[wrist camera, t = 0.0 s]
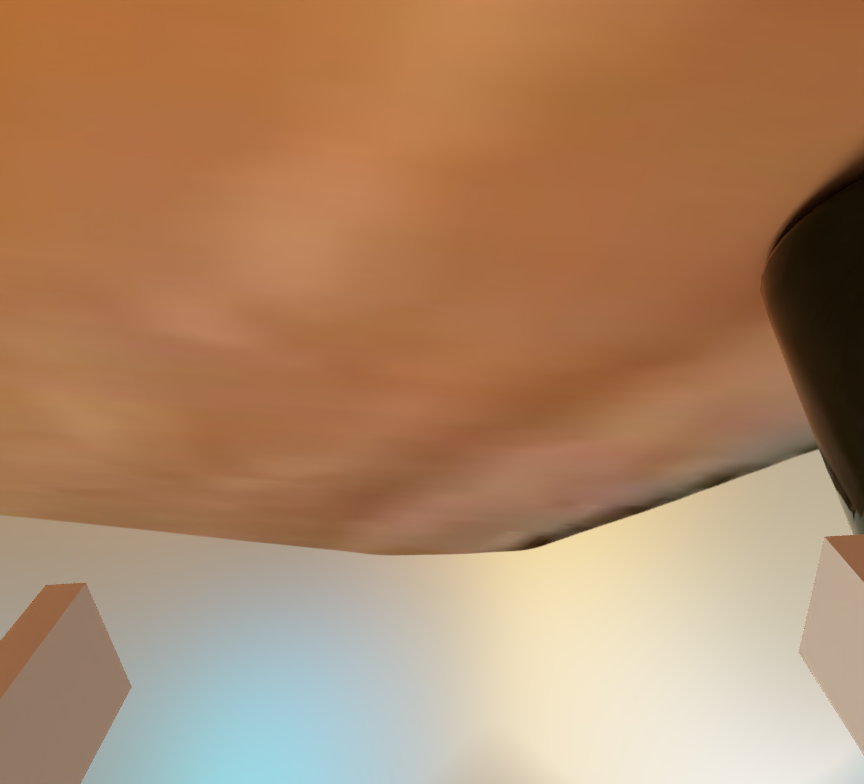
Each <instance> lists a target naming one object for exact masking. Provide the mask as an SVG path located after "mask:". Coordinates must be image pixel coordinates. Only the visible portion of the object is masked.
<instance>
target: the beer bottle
mask: <svg viewBox="0 0 864 784" xmlns="http://www.w3.org/2000/svg"><path fill="white" fill-rule="evenodd" d="M760 291H761V294H762V297H763V301H764V304H765V307H766V311H767V314H768V317H769V320H770V323H771V327H772V329H773V332H774V334H775V337H776V340H777V342H778V345H779V348H780V350H781V353H782V356H783V358H784V361H785V363H786V366H787V369H788V371H789V374H790V377H791V379H792V382H793V385H794V387H795V390H796V392H797V395H798V397H799V400H800V403H801V405H802V408H803V410H804V413H805V415H806V418H807V420H808V423H809V425H810V428H811V430H812V433H813V436H814V438H815V441H816V443H817V446H818V448H819V451H820V453H821V456H822V458H823V461H824V463H825V466H826V468H827V471H828V474H829V476H830V479H831V481H832V484H833V486H834V488H835V491H836V494H837V496H838V499H839V501H840V504H841V506H842V509H843V511H844V514H845V516H846V519H847V521H848V524H849V526H850V529H851V531H852V534H853V535H863V534H864V179H862V180H860V181H858V182H856V183H854V184H852V185H850V186H848V187H847V188H845V189H843V190H842V191H840V192H839V193H837V194H835V195H834V196H832V197H831V198H829V199H827V200H826V201H824V202H823V203H821V204H820V205H819V206H817V207H816V208H815V209H814V210H812V211H811V212H810V213H808V214H807V215H806V216H805V217H803V218H802V219H801V220H800V221H799V222H798V223H797V224H796V225H795V226H794V227H793V228H792V229H791V230H790V231H789V232H788V233H787V234H786V235H785V236H784V237H783V238H782V239H781V240H780V242H779V243H778V244H777V246H776V247H775V249H774V250H773V251H772V253H771V254H770V256H769V258H768V261H767V263H766V265H765V268H764V270H763V274H762V279H761V288H760Z"/></svg>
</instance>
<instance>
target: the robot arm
mask: <svg viewBox="0 0 864 784" xmlns="http://www.w3.org/2000/svg"><path fill="white" fill-rule="evenodd" d="M799 654H800V655H801V657H802V658H803V660H804V661H805V663H806V665H807V666H808V668H809V669H810V671H811V672H812V674H813V676H814V677H815V679H816V680H817V682H818V684H819V685H820V687H821V688H822V690H823V691H824V693H825V694H826V696H827V698H828V699H829V701H830V702H831V704H832V706H833V707H834V709H835V710H836V712H837V713H838V715H839V717H840V718H841V720H842V721H843V723H844V724H845V726H846V728H847V729H848V730H849V732H850V734H851V735H852V737H853V739H854V740H855V742H856V743H857V745H858V746H859V748H860V750H861V751H862V753H863V754H864V534H863V535H848V536H830V537H824V542H823V547H822V550H821V555H820V560H819V564H818V569H817V573H816V577H815V582H814V586H813V591H812V596H811V600H810V605H809V609H808V613H807V617H806V622H805V627H804V631H803V635H802V640H801V645H800V649H799ZM130 689H131V684H130V682H129V680H128V678H127V675H126V673H125V671H124V669H123V666H122V664H121V662H120V659H119V657H118V655H117V653H116V650H115V648H114V646H113V644H112V641H111V639H110V637H109V634H108V632H107V630H106V628H105V625H104V623H103V621H102V619H101V616H100V614H99V612H98V609H97V607H96V605H95V603H94V600H93V598H92V596H91V594H90V591H89V589H88V587H87V584H86V583H74V584H57V585H46V586H45V587H44V588H43V589H42V591H41V592H40V593H39V594H38V595H37V597H36V598H35V599H34V600H33V601H32V603H31V604H30V605H29V607H28V608H27V609H26V610H25V612H24V613H23V614H22V615H21V616H20V618H19V619H18V620H17V621H16V622H15V624H14V625H13V626H12V628H10V630H9V631H8V632H7V633H6V635H5V636H4V637H3V638H2V640H1V641H0V784H80V783H81V781H82V779H83V778H84V776H85V774H86V772H87V770H88V768H89V766H90V764H91V762H92V760H93V759H94V757H95V755H96V753H97V751H98V749H99V747H100V746H101V743H102V742H103V740H104V738H105V736H106V734H107V732H108V730H109V728H110V727H111V725H112V723H113V721H114V719H115V717H116V715H117V713H118V712H119V710H120V708H121V706H122V704H123V702H124V700H125V698H126V696H127V695H128V693H129V691H130Z"/></svg>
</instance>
